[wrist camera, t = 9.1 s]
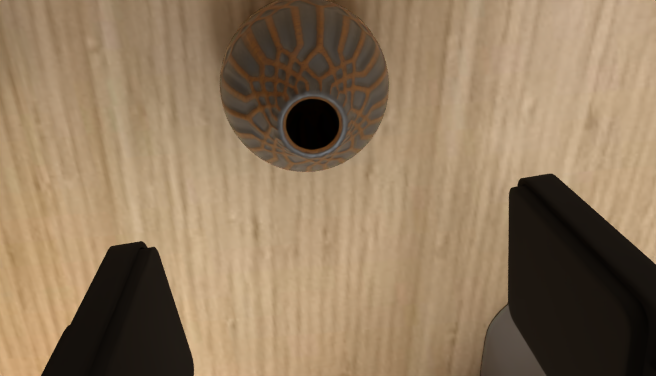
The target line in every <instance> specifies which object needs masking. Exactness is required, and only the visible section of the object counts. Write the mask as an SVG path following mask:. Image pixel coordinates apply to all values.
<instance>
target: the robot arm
mask: <svg viewBox="0 0 656 376" xmlns="http://www.w3.org/2000/svg"><path fill="white" fill-rule="evenodd" d="M508 306H509V311H510V315H511V317H512V320H513V322H514V323H515V325H516V327H517V328H518V330H519V332H520V333H521V335H522V337H523V338H524V340H525V342H526V343H527V345H528V347H529V348H530V350H531V351H532V353H533V355H534V356H535V358H536V360H537V361H538V363H539V365H540V366H541V368H542V370H543V371H544V373H545V374H546V376H656V264H655V263H654V262H652V261H651V260H650V259H649V258H648V257H647V256H646V255H644V254H643V253H642V252H641V251H640V250H639V249H638V248H637V247H635V246H634V245H633V244H632V243H631V242H630V241H629V240H628V239H626V238H625V237H624V236H623V235H622V234H621V233H620V232H618V231H617V230H616V229H615V228H614V227H613V226H612V225H611V224H609V223H608V222H607V221H606V220H605V219H604V218H603V217H602V216H600V215H599V214H598V213H597V212H596V211H595V210H594V209H592V208H591V207H590V206H589V205H588V204H587V203H586V202H585V201H583V200H582V199H581V198H580V197H579V196H578V195H577V194H576V193H574V192H573V191H572V190H571V189H570V188H569V187H568V186H566V185H565V184H564V183H563V182H562V181H561V180H560V179H559V178H557V177H556V176H555V175H553V174H545V175H539V176H533V177H527V178H521V179H520V180H519V182H518V187H513V188H511V189H510V192H509V256H508ZM41 376H194V364H193V358H192V355H191V351H190V348H189V345H188V342H187V339H186V336H185V333H184V330H183V327H182V324H181V321H180V317H179V314H178V311H177V308H176V305H175V302H174V299H173V296H172V293H171V290H170V287H169V283H168V280H167V277H166V274H165V271H164V268H163V265H162V262H161V259H160V256H159V253H158V251H157V249H156V248H155V247H151V248H147V246H146V244H145V243H144V242H142V241H140V242H134V243H128V244H122V245H116V246H111V247H110V248H109V249H108V251H107V253H106V255H105V257H104V259H103V261H102V263H101V265H100V267H99V269H98V271H97V273H96V275H95V277H94V279H93V281H92V283H91V285H90V287H89V289H88V291H87V293H86V295H85V297H84V299H83V301H82V303H81V305H80V307H79V309H78V310H77V312H76V314H75V316H74V318H73V320H72V322H71V324H70V325H69V326H68V327H67V328H66V329H65V331H64V332H63V334H62V336H61V338H60V340H59V342H58V344H57V346H56V348H55V350H54V351H53V353H52V355H51V357H50V359H49V361H48V363H47V365H46V367H45V369H44V371H43V373H42V375H41Z"/></svg>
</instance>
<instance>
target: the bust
mask: <svg viewBox="0 0 656 376" xmlns="http://www.w3.org/2000/svg"><path fill="white" fill-rule="evenodd" d="M480 376H546V374H545V373H544V371H543V370H542V368H541V366H540V365H539V363H538V361H537V360H536V358H535V356H534V355H533V353H532V351H531V350H530V348H529V347H528V345H527V343H526V342H525V340H524V338H523V337H522V335H521V333H520V332H519V330H518V328H517V327H516V325H515V323H514V322H513V320H512V317H511V315H510V311H509V306H508V305H507V306H506V307H504V308H503V309H502V310H501V311H500V313H499V314H498V315H497V316H496V317H495V319H494V320H493V321H492V323H491V324H490V326H489V328H488V331H487V335H486V339H485V345H484V351H483V358H482V365H481V373H480Z"/></svg>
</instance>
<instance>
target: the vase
mask: <svg viewBox="0 0 656 376" xmlns="http://www.w3.org/2000/svg"><path fill="white" fill-rule="evenodd" d="M388 91H389V79H388V71H387V66H386V61H385V58H384V55H383V52H382V50H381V48H380V46H379V44H378V42H377V40H376V39H375V37H374V36H373V34H372V33H371V31H370V30H369V29H368V28H367V26H366V25H365V24H364V23H363V22H362V21H361V20H360V19H359V18H357V17H356V16H355V15H354V14H352V13H351V12H350V11H348V10H347V9H345V8H343V7H341V6H339V5H337V4H335V3H332V2H330V1H326V0H279V1H276V2H273V3H271V4H269V5H267V6H265V7H263V8H261V9H260V10H258V11H257V12H255V13H254V14H253V15H252V16H250V17H249V18H248V19H247V20H246V21H245V22H244V23H243V24H242V25H241V26H240V28H239V29H238V30H237V32H236V33H235V35H234V36H233V38H232V40H231V41H230V43H229V45H228V48H227V50H226V53H225V55H224V59H223V63H222V68H221V75H220V93H221V99H222V104H223V108H224V111H225V114H226V116H227V119H228V121H229V123H230V125H231V127H232V128H233V130H234V132H235V133H236V135H237V136H238V138H239V139H240V140H241V141H242V142H243V144H244V145H245V146H246V147H247V148H248V149H249V150H250V151H252V152H253V153H254V154H255V155H257V156H258V157H260V158H261V159H263V160H264V161H266V162H268V163H270V164H272V165H274V166H277V167H279V168H283V169H286V170H291V171H298V172H312V171H320V170H325V169H329V168H332V167H335V166H337V165H339V164H342V163H344V162H345V161H347V160H349V159H350V158H352V157H353V156H355V155H356V154H357V153H358V152H360V151H361V150H362V149H363V148H364V147H365V146H366V145H367V143H368V142H369V141H370V140H371V138H372V137H373V135H374V134H375V132H376V131H377V129H378V127H379V125H380V123H381V121H382V118H383V116H384V112H385V109H386V105H387V100H388Z"/></svg>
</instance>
